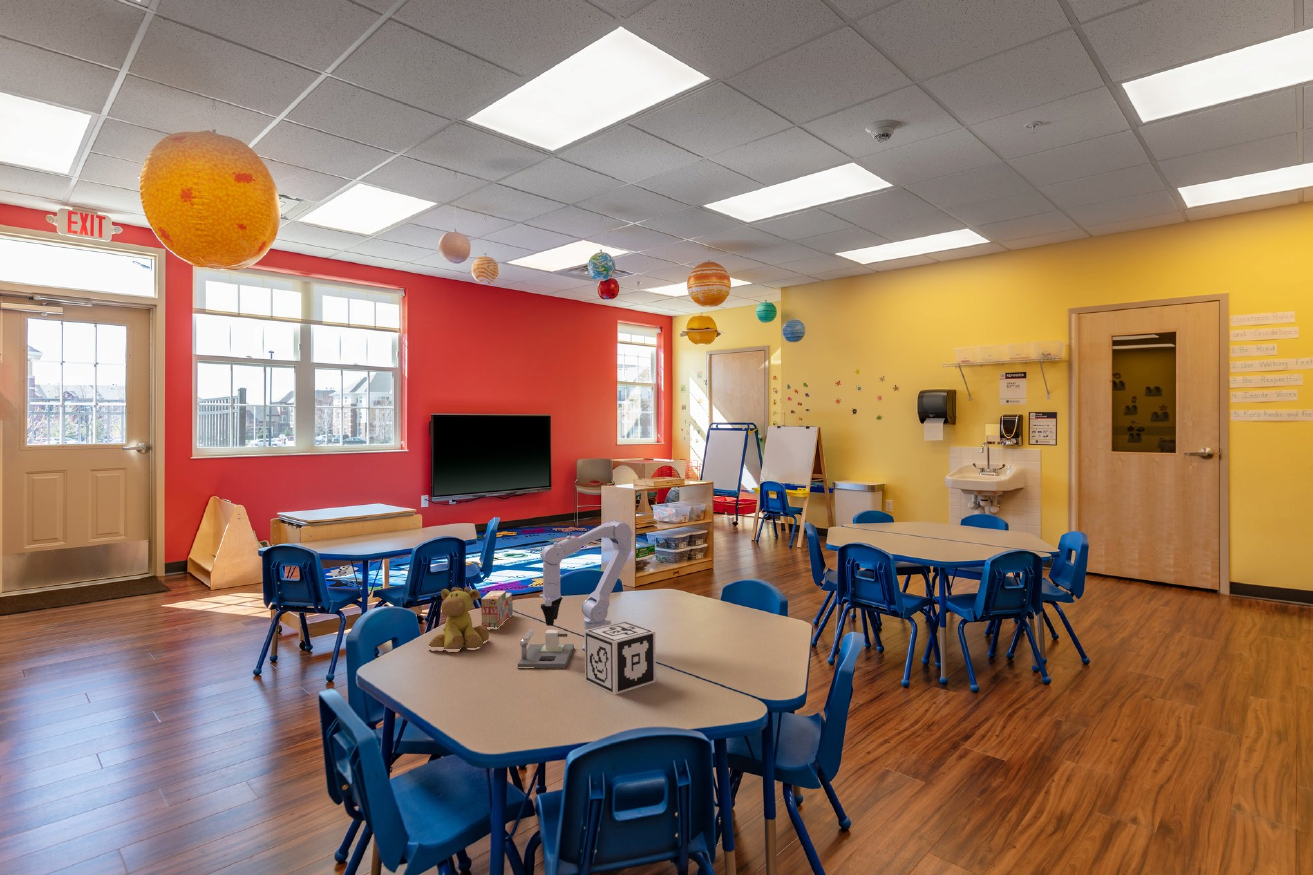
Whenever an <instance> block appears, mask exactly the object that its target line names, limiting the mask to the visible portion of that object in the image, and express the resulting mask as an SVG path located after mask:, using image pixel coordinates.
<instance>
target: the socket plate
mask: <svg viewBox="0 0 1313 875" xmlns="http://www.w3.org/2000/svg"><path fill="white" fill-rule="evenodd" d="M527 646H528V645H526V646H521V645H520V647H521V658H520V659H519V661H518V663H517V668H518V667H534V668H546V669H548V670H550V669H556V670H557V669H559V670H561V669H566V668H567V666H568V663H569V661H570V658H571V656H572V654H573V652H574V648H575V644H574V643H559V648H558V650H546V648H545V643H544V644H543V643H542V644H541V643H535V644H534V643H532V644H531V643H530V644H529V646H528V647H527ZM541 660H554V661H541Z"/></svg>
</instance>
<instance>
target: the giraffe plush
mask: <svg viewBox="0 0 1313 875" xmlns="http://www.w3.org/2000/svg"><path fill="white" fill-rule="evenodd" d="M440 592H441V593H440V594H441V599H442V603H441V608H440V609H441V613H442V615H444V617H445V616H446V620H445V624H444V626H443V628H442V630H443V631H442V632H441V633H440V634H436V635H435V636H434V637H433V638H431V640H430V641H429V642H428V645H429V646H431V647H444V649H460V648H462V649H464V648H465V649H466V648H477V647H481V648H482V647H483V645H484V644H483V642H484V641H486V640H488V641H489V638H490V634H489V630H488V629H487V627H485V626H483V625H482V624H481V625H480V624H479V625H477V626H473V621H472V617H471V614H470V613H469V611H471V608H472V606H473V604H474V601H476V600H479V599H480V598H481V592H480V591H479V590H478V589H475V588H474V589H471V588H470V587H469V586H466V587H464V589H463V588H461V587H456V586H455V587H452V588H451V591H450V590H448V589H447V588H444V589H442V590H441V591H440ZM428 645H427V646H428Z"/></svg>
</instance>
